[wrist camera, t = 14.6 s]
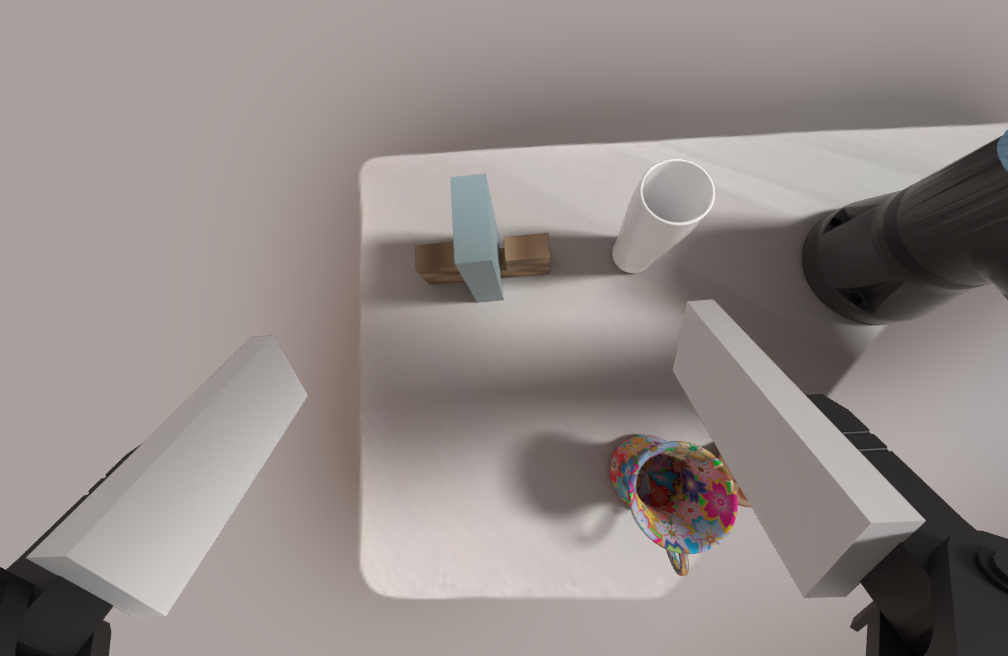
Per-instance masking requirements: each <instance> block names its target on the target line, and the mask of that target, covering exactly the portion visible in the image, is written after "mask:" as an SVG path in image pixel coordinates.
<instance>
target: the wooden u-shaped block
mask: <svg viewBox="0 0 1008 656" xmlns="http://www.w3.org/2000/svg"><path fill="white" fill-rule="evenodd" d="M504 246H505V248H502V249H499V262H500V276H501V278H506V277H517V276H529V275H540V274H549V266H550V258H551V256H550V245H549V235H548V233H542V234H532V235H521V236H511V237H504ZM415 269H416V270H417V271H418V273H419V274H420V275H421V276H422V277H423V278H424V279H425V280H426V281H427V282H428V283H429V284H438V283H450V282H461V281H464V279H463V277H462V275H461V274H460V272H459V270H458V269H457V267H456V265H455V260H454V242H448V243H438V244H427V245H417V246H415Z"/></svg>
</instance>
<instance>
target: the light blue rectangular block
mask: <svg viewBox="0 0 1008 656" xmlns="http://www.w3.org/2000/svg"><path fill="white" fill-rule="evenodd" d="M451 198H452V219H453V240H454V260H455V265H456V267H457V269H458V270H459V272H460V274H461V275H462V277H463V279H464V281H465V282H466V284H467V286H468V287H469V289H470V291H471V293H472V294H473V296H474V298H475V299H476V301H477V302H487V301H498V300H504V297H503V285H502V281H501V276H500V262H499V249H500V244H499V234H498V230H497V225H496V220H495V215H494V211H493V206H492V201H491V196H490V192H489V187H488V182H487V177H486V174H477V175H469V176H460V177H451Z"/></svg>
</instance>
